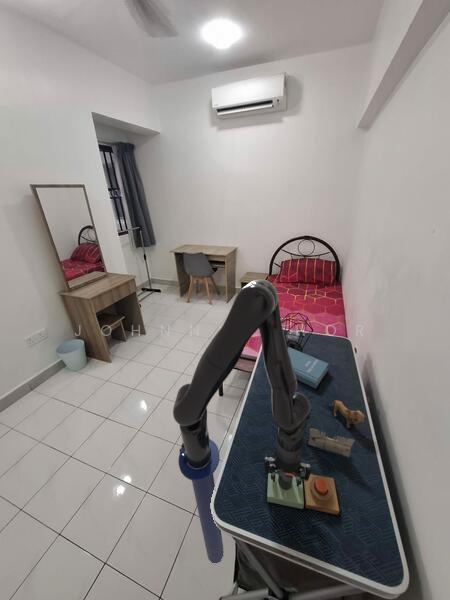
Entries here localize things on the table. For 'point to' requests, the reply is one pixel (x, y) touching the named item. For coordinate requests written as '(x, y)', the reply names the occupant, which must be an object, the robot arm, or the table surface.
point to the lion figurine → (348, 413)
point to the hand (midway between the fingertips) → (285, 480)
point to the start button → (321, 486)
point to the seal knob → (285, 480)
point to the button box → (321, 501)
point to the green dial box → (285, 493)
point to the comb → (330, 442)
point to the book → (307, 368)
